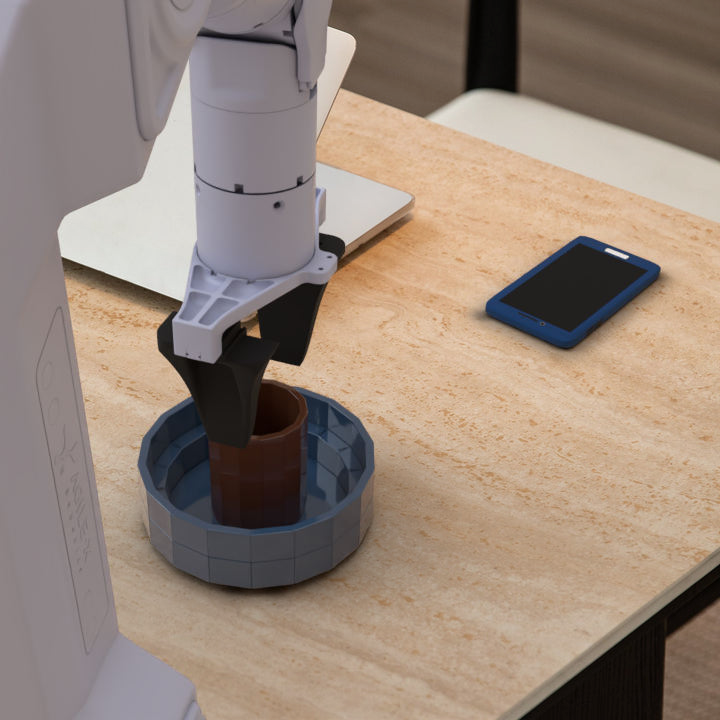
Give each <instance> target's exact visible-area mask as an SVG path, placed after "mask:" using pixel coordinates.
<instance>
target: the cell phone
mask: <svg viewBox="0 0 720 720" xmlns="http://www.w3.org/2000/svg"><path fill="white" fill-rule="evenodd" d="M661 270H662V267H661V266H660V265H659V264H658V263H656V262H653V261H651V260H648V259H646V258H644V257H641V256H639V255H636V254H634V253H631V252H628V251H626V250H623V249H621V248H618V247H616V246H613V245H611V244H609V243H606V242H604V241H601V240H598V239H595V238H593V237H590V236H586V235H578V236H576V237H575V238H574V239H572V240H571V241H569V242H568V243H567V244H564V246H562V247H560V248H559V249H558V250H556V251H555V252H554V253H552V254H551V255H549V256H548V257H546V258H545V259H544V260H542V261H541V262H539V263H538V264H537V265H535V266H534V267H532V268H531V269H529V270H528V271H527V272H525V273H524V274H523V275H521V276H520V277H518V278H517V279H516V280H514V281H512V282H511V283H510V284H508V285H507V286H505V287H504V288H502V289H501V290H500V291H499V292H497V293H496V294H494V295H493V296H492V297H490V298H488V300H487V301H486V303H485V308H484V311H485V314H487V315H488V316H490V317H492V318H494V319H496V320H498V321H500V322H503V323H505V324H507V325H510V326H511V327H514V328H516V329H519V330H521V331H523V332H525V333H527V334H529V335H532V336H534V337H536V338H538V339H540V340H543V341H545V342H547V343H549V344H551V345H554V346H557V347H560V348H564V349H568V348H572V347H574V346H576V345H577V344H579V343H580V342H581V341H582V340H583V339H585V338H586V337H587V336H588V335H590V334H591V333H592V332H593V331H595V330H596V329H597V328H598V327H599V326H601V325H602V324H603V323H604V322H606V321H607V320H608V319H609V318H611V316H613V315H614V314H615V313H616V312H618V311H619V310H620V309H621V308H622V307H624V306H626V304H628V303H629V302H630V301H631V300H633V298H635V297H636V296H637V295H639V294H640V293H641V292H643V291H644V290H645V289H646V288H648V286H650V285H651V284H652V283H653V282H654V281H656V279H658V278H659V277H660V274H661Z"/></svg>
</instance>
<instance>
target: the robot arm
mask: <svg viewBox="0 0 720 720" xmlns="http://www.w3.org/2000/svg"><path fill="white" fill-rule="evenodd" d="M332 5H333V0H0V720H208V719H207V718H206V716H205V715H204V714H203V713H202V708H201V705H199V702H198V697H197V686H196V684H195V683H194V682H193V681H192V680H191V679H190V678H188V677H187V676H186V675H184V674H182V673H181V672H180V671H178V670H177V669H175V668H174V667H173V666H171V665H169V664H168V663H166V662H165V661H163V660H162V659H160V658H159V657H157V656H155V655H154V654H153V653H151V652H149V651H147V650H146V649H145V648H143V647H141V646H140V645H138V644H137V643H136V642H134V641H133V640H131V639H130V638H128V637H127V636H125V635H124V634H123V633H122V632H120V627H119V623H118V616H117V609H116V603H115V595H114V589H113V583H112V577H111V571H110V563H109V558H108V551H107V544H106V538H105V531H104V525H103V518H102V512H101V506H100V498H99V493H98V486H97V480H96V474H95V473H96V472H95V467H94V459H93V454H92V447H91V441H90V434H89V427H88V422H87V415H86V409H85V402H84V394H83V388H82V382H81V376H80V375H81V374H80V369H79V363H78V355H77V349H76V343H75V337H74V330H73V324H72V317H71V311H70V304H69V298H68V290H67V285H66V278H65V274H64V273H65V271H64V266H63V260H62V253H61V245H60V240H59V239H60V238H59V232H58V231H59V229H60V227H61V224H62V221H63V220H64V218H65V217H66V216H68V215H69V214H71V213H73V212H75V211H78V210H80V209H82V208H84V207H86V206H90V205H91V204H94V203H95V202H98V201H100V200H102V199H105V198H107V197H109V196H112V195H113V194H116V193H118V192H120V191H123V190H125V189H127V188H129V187H132V186H134V185H136V184H138V183H139V182H141V180H142V179H143V177H144V175H145V173H146V169H147V167H148V164H149V161H150V158H151V154H152V152H153V149H154V146H155V144H156V140H157V138H158V137H159V135H160V134H162V133H163V132H164V130H165V128H166V126H167V123H168V120H169V117H170V114H171V112H172V109H173V106H174V102H175V101H176V97H177V94H178V92H179V88H180V85H181V82H182V79H183V76H184V74H185V71H186V68H187V65H188V71H189V72H188V73H189V74H188V75H189V93H190V114H191V115H190V116H191V138H192V139H191V140H192V155H193V156H192V158H193V159H192V161H193V162H192V163H193V184H194V187H193V189H194V202H195V203H194V204H195V226H196V228H195V229H196V241H195V242H194V245H193V248H192V252H191V253H192V254H191V258H190V264H189V269H188V276H187V280H186V286H185V292H184V297H183V301H182V304H181V306H180V309H179V311H178V310H172V311H171V312H170V314H169V315H168V316H167V317H166V318H165V319H164V320H163V322H162V323H161V324H160V325H159V326H158V327H157V329H156V343H157V350H158V352H159V353H160V354H161V355H162V356H163V357H164V358H165V359H166V360H167V362H169V364H170V365H171V366H172V367H173V369H174V370H175V371H176V372H177V374H178V375H179V376H180V378H181V380H182V382H184V384H185V386H186V388H187V390H188V391H189V393H190V396H192V398H193V400H194V403H195V405H196V408H197V411H198V413H199V416H200V419H201V421H202V424H203V427H204V429H205V432H206V434H207V437H208V439H209V441H212V442H216V443H220V444H224V445H228V446H232V447H236V448H239V449H244V448H245V447H246V446H247V444H248V443H249V441H250V438H251V436H252V433H253V429H254V425H255V418H256V410H257V402H258V395H259V390H260V386H261V382H262V379H264V375H265V372H266V370H267V368H268V366H269V363H270V361H273V362H277V363H283V364H287V365H290V366H295V367H301V366H302V364H303V363H304V362H305V359H306V356H307V353H308V352H309V351H308V350H309V347H310V344H311V341H312V336H313V332H314V328H315V324H316V322H317V321H316V320H317V316H318V313H319V309H320V306H321V303H322V299H323V297H324V294H325V291H326V289H327V287H328V284H329V282H330V280H331V278H332V277H333V276H334V274H335V273H336V272H337V270H338V264H339V263H340V261H341V260H342V258H343V256H344V255H345V253H346V242H345V241H344V240H343V239H342V238H340V237H339V236H336V235H334V234H328V233H323V232H320V227H321V226H322V225H323V224H324V223H325V221H326V219H327V218H326V216H327V188H324V187H320V186H316V183H317V138H318V137H317V135H318V130H317V129H318V80H319V79H320V76H321V75H322V72H324V69H325V65H326V55H327V46H328V45H327V43H328V25H329V19H330V15H331V10H332ZM255 312H257V313H256V314H257V320H258V328H259V330H258V331H259V336H260V337H257V336H252V335H248V328H247V327H246V326H243V327H242V320H243V319H245V318H246V317H248V316H250V315H251V314H253V313H255Z"/></svg>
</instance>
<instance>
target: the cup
mask: <svg viewBox="0 0 720 720" xmlns="http://www.w3.org/2000/svg"><path fill="white" fill-rule="evenodd" d="M292 386H293V385H289V384H287V383H284V382H281V381H279V380H276V379H268V378H263V379H262V382H261V386H260V390H259V395H258V402H257V410H256V418H255V425H254V429H253V433H252V436H251V438H250V441H249V443H248V444H247V446H246V447H245V448H244V449H239V448H236V447H232V446H228V445H224V444H220V443H216V442H212V441H209V439H208V455H209V477H210V497H211V509H212V513H213V516H214V517H215V519H216V520H217V522H218V523H219V524H220V525H223V526H230V527H237V528H244V529H260V528H270V527H280V526H289V525H294V524H296V523H297V522H298V521H299V520H300V519H301V517H302V516H303V514H304V511H305V507H306V501H307V448H308V409H307V404H306V400H305V398H304V397H303V396H302V395H301V394H300V393H299V392H298V391H297V390H296V389H295V388H294V387H292Z"/></svg>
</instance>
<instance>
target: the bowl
mask: <svg viewBox="0 0 720 720" xmlns="http://www.w3.org/2000/svg"><path fill="white" fill-rule="evenodd" d="M291 386H292V387H294V388H295V389H296V390H297V391H298V392H299V393H300V394H301V395H302V396H303V397H304V398H305V400H306V404H307V409H308V448H307V501H306V507H305V511H304V514H303V516H302V517H301V519H300V520H299V521H298V522H297V523H296V524H294V525H289V526H280V527H270V528H260V529H244V528H237V527H230V526H223V525H220V524H219V523H218V522H217V520H216V519H215V517H214V516H213V513H212V509H211V497H210V477H209V455H208V437H207V434H206V432H205V429H204V427H203V424H202V421H201V419H200V416H199V413H198V411H197V408H196V405H195V403H194V400H193V398H192V396H191V395H190V396H188V397H187V398H184V399H183V400H182V401H180V402H178V403H177V404H175V405H174V406H172V407H171V408H169V409H167V410H165V411H164V412H162V413H161V414H160V415H159V417H158V418H157V419H156V420H155V422H154V423H153V424H152V425H151V426H150V427H149V429H148V430H147V432H146V433H145V434H144V435H143V437H142V439H141V444H140V448H139V453H138V459H137V464H136V466H137V468H136V469H137V477H138V489H139V501H140V512H141V518H142V522H143V525H144V527H145V530H146V534H147V536H148V539H149V542H150V544H151V545H152V546H153V547H154V549H156V550H157V551H158V552H159V553H160V554H161V555H162V556H163V557H164V558H165V559H166V560H167V562H169V563H170V564H171V565H172V566H173V567H174V568H175V569H178V570H180V571H183V572H185V573H187V574H189V575H191V576H194V577H195V578H198V579H200V580H202V581H204V582H207V583H209V584H217V585H223V586H231V587H236V588H243V589H252V590H253V589H263V588H272V587H279V586H288V585H294V584H298V583H301V582H303V581H306V580H309V579H312V578H313V577H316V576H318V575H321V574H323V573H326V572H329V571H331V570H332V569H334V568H335V567H336V566H338V565H339V564H341V562H343V560H345V559H346V558H347V557H348V556H350V555H351V554H352V553H353V552H354V551H355V550H357V549H358V548H359V546H360V545H361V543H362V540H363V539H364V537H365V534H366V533H367V531H368V528H369V527H370V525H371V523H372V520H373V509H374V493H375V492H374V491H375V475H376V474H375V472H376V463H375V462H376V461H375V442H374V440H373V439H372V437H371V435H370V433H369V432H368V431H367V429H366V427H365V426H364V423H363V422H362V420H361V419H360V418H359V416H357V415H356V414H354V413H353V412H352V411H350V410H349V409H347V408H346V407H345V406H344V405H342V404H341V403H340V402H339V401H337V400H335V399H333V398H331V397H329V396H326V395H323V394H321V393H318V392H315V391H313V390H310V389H307V388H304V387H301V386H295V385H291Z"/></svg>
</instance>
